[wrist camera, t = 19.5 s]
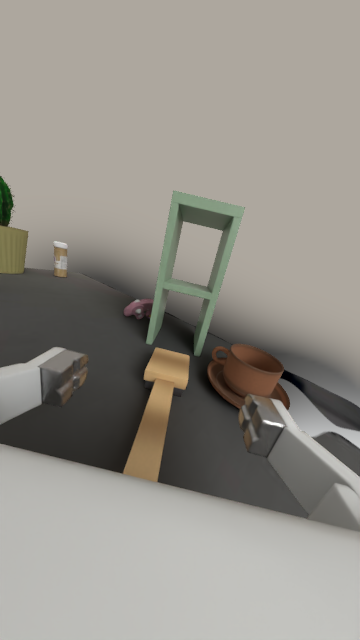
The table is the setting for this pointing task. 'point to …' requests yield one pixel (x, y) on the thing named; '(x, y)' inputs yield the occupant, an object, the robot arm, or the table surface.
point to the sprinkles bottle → (60, 259)
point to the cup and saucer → (246, 375)
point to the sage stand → (180, 210)
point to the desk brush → (157, 412)
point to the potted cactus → (10, 236)
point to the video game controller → (139, 308)
